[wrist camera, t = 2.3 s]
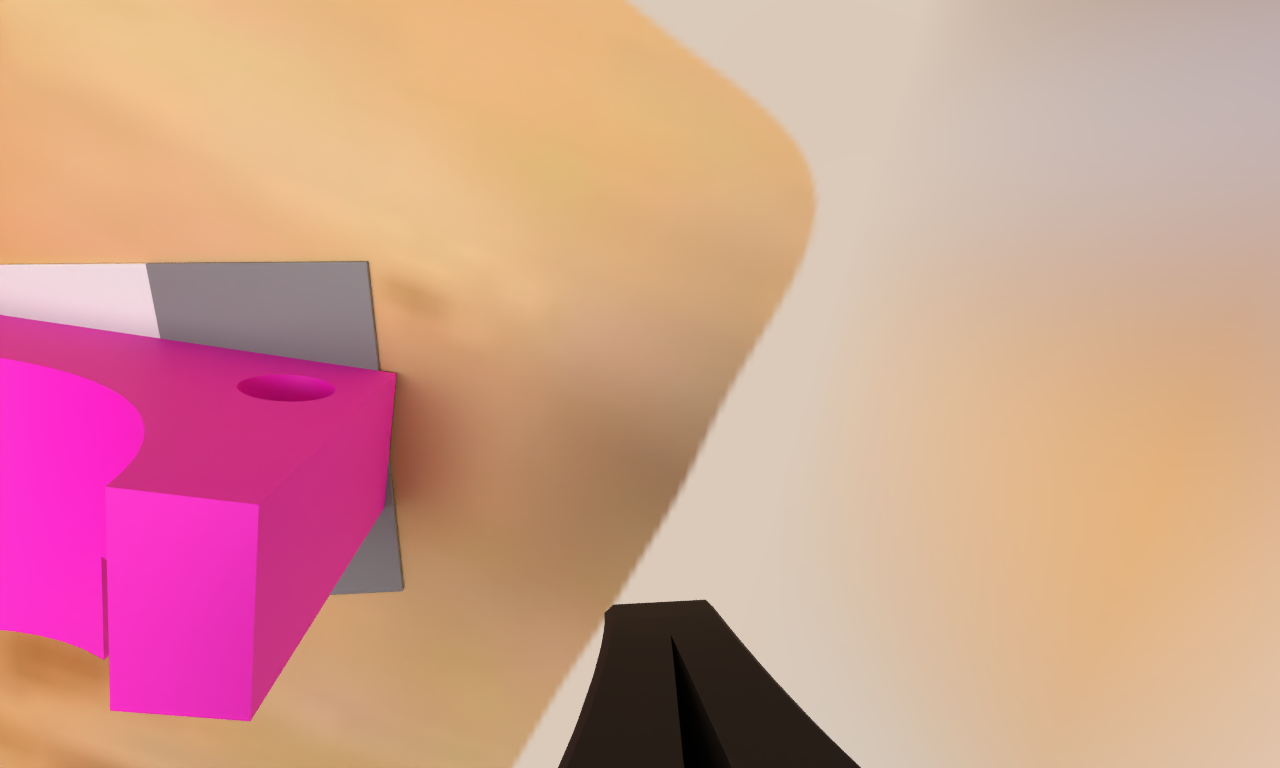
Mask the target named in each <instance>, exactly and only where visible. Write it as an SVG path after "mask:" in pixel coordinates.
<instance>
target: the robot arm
mask: <svg viewBox="0 0 1280 768" xmlns="http://www.w3.org/2000/svg"><path fill="white" fill-rule="evenodd" d="M558 768H861V767H859V765H857V764H856V763H855V762H854V761H853V760H852V759H851V758H850V757H849V756H848V755H847V754H846V753H845V752H844V751H843V750H842V749H841V748H840V747H839V746H838V745H837V744H836V743H835V742H833V741H832V740H831V739H830V738H829V737H828V736H827V735H826V734H825V732H823V730H822V729H820V728H819V726H817V725H816V723H815V722H814V721H812V719H811V718H810V717H809V716H808V715H807V714H806V713H805V712H804V711H803V710H802V709H801V708H800V707H799V706H798V705H797V703H795V701H794V700H793V699H792V698H791V697H790V696H789V695H788V694H787V693H786V692H785V691H784V690H783V689H782V687H780V685H779V684H778V683H777V682H776V681H775V680H774V679H773V678H772V677H771V675H770V674H769V673H768V672H767V671H766V670H765V669H764V668H763V666H762V665H761V664H760V663H759V662H758V661H757V660H756V658H755V657H754V656H753V655H752V654H751V652H750V651H749V650H748V649H747V648H746V647H745V646H744V644H743V643H742V642H741V641H740V640H739V638H738V637H737V636H736V635H735V634H734V632H733V631H732V630H731V629H730V627H729V626H728V625H727V624H726V622H725V621H724V620H723V619H722V617H721V616H720V615H719V614H718V612H717V611H716V610H715V609H714V608H713V607H712V606H711V605H710V604H709V603H708V602H707V601H706V600H693V601H675V602H656V603H637V604H619V605H613V606H612V607H610V608H609V609H608V610H607V611H606V612H605V626H604V634H603V639H602V645H601V649H600V653H599V657H598V661H597V664H596V668H595V672H594V675H593V678H592V682H591V684H590V687H589V690H588V693H587V696H586V699H585V702H584V705H583V707H582V711H581V713H580V716H579V719H578V722H577V724H576V727H575V729H574V732H573V734H572V737H571V739H570V742H569V744H568V746H567V749H566V751H565V753H564V755H563V758H562V760H561V762H560V765H559V767H558Z"/></svg>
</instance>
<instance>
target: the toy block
mask: <svg viewBox="0 0 1280 768" xmlns="http://www.w3.org/2000/svg"><path fill="white" fill-rule="evenodd" d="M396 374H397V373H391V372H384V371H377V370H371V369H364V368H357V367H350V366H343V365H337V364H330V363H323V362H316V361H310V360H303V359H296V358H289V357H282V356H276V355H269V354H262V353H255V352H249V351H242V350H235V349H228V348H221V347H215V346H208V345H201V344H194V343H188V342H181V341H174V340H167V339H160V338H154V337H147V336H140V335H133V334H127V333H120V332H113V331H106V330H99V329H93V328H86V327H79V326H72V325H65V324H59V323H52V322H45V321H38V320H32V319H25V318H18V317H11V316H4V315H0V630H7V631H16V632H22V633H28V634H34V635H40V636H44V637H48V638H52V639H56V640H59V641H63V642H66V643H69V644H71V645H74V646H77V647H79V648H82V649H84V650H86V651H88V652H90V653H92V654H94V655H96V656H98V657H100V658H102V659H103V660H104V659H105V658H106V657H107V656H109V679H110V711H122V712H136V713H149V714H162V715H175V716H188V717H201V718H214V719H228V720H241V721H251V719H252V718H253V716H254V714H255V713H256V711H257V710H258V708H259V706H260V705H261V703H262V702H263V700H264V698H265V697H266V695H267V694H268V692H269V690H270V689H271V687H272V686H273V684H274V682H275V681H276V679H277V678H278V676H279V675H280V673H281V671H282V670H283V668H284V667H285V665H286V663H287V662H288V660H289V659H290V657H291V655H292V654H293V652H294V651H295V649H296V647H297V646H298V644H299V643H300V641H301V639H302V638H303V636H304V635H305V633H306V632H307V630H308V628H309V627H310V625H311V624H312V622H313V620H314V619H315V617H316V616H317V614H318V612H319V611H320V609H321V608H322V606H323V604H324V603H325V601H326V600H327V598H328V597H329V595H330V593H331V592H332V590H333V589H334V587H335V585H336V584H337V582H338V581H339V579H340V577H341V576H342V574H343V573H344V571H345V569H346V568H347V566H348V565H349V563H350V561H351V560H352V558H353V557H354V555H355V554H356V552H357V550H358V549H359V547H360V546H361V544H362V542H363V541H364V539H365V538H366V536H367V534H368V533H369V531H370V530H371V528H372V526H373V525H374V523H375V522H376V520H377V518H378V517H379V515H380V514H381V512H382V511H383V509H384V504H385V493H386V482H387V471H388V460H389V450H390V439H391V428H392V417H393V406H394V395H395V385H396Z"/></svg>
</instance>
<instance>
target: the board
mask: <svg viewBox="0 0 1280 768" xmlns="http://www.w3.org/2000/svg"><path fill="white" fill-rule="evenodd" d="M0 315H4V316H11V317H18V318H25V319H32V320H38V321H45V322H52V323H59V324H65V325H72V326H79V327H86V328H93V329H99V330H106V331H113V332H120V333H127V334H133V335H140V336H147V337H154V338H160V339H167V340H174V341H181V342H188V343H194V344H201V345H208V346H215V347H221V348H228V349H235V350H242V351H249V352H255V353H262V354H269V355H276V356H282V357H289V358H296V359H303V360H310V361H316V362H323V363H330V364H337V365H343V366H350V367H357V368H364V369H371V370H377V371H380V365H379V356H378V347H377V337H376V328H375V319H374V310H373V301H372V291H371V282H370V273H369V264H368V261H353V262H220V263H87V264H0ZM403 589H404V586H403V577H402V568H401V558H400V549H399V540H398V531H397V522H396V512H395V503H394V494H393V485H392V476H391V466H390V457H389V460H388V471H387V482H386V493H385V504H384V509H383V511H382V512H381V514H380V515H379V517H378V518H377V520H376V522H375V523H374V525H373V526H372V528H371V530H370V531H369V533H368V534H367V536H366V538H365V539H364V541H363V542H362V544H361V546H360V547H359V549H358V550H357V552H356V554H355V555H354V557H353V558H352V560H351V561H350V563H349V565H348V566H347V568H346V569H345V571H344V573H343V574H342V576H341V577H340V579H339V581H338V582H337V584H336V585H335V587H334V589H333V590H332V592H331V593H330V595H336V594H356V593H376V592H395V591H403Z"/></svg>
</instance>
